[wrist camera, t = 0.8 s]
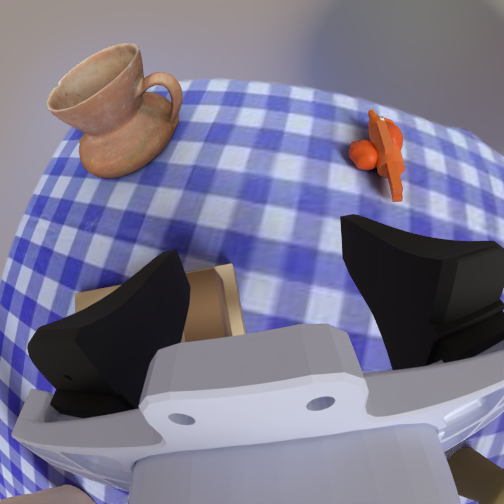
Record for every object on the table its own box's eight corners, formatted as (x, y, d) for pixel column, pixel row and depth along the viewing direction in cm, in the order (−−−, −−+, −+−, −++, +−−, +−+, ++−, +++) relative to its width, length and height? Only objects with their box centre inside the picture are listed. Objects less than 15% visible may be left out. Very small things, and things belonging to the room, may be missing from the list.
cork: (429, 489, 17) (477, 524, 6) (453, 446, 18) (511, 469, 8) (460, 488, 15) (507, 514, 5) (481, 447, 17) (536, 464, 7)
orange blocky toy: (423, 180, 23) (394, 102, 27) (353, 187, 26) (338, 108, 30) (417, 204, 27) (395, 129, 31) (357, 210, 30) (344, 134, 34)
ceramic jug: (73, 192, 33) (14, 134, 20) (105, 119, 38) (68, 59, 24) (186, 184, 31) (141, 93, 18) (205, 104, 36) (183, 23, 23)
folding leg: (251, 428, 20) (247, 443, 16) (215, 432, 20) (204, 446, 16) (224, 280, 25) (215, 267, 21) (190, 286, 25) (175, 275, 21)
